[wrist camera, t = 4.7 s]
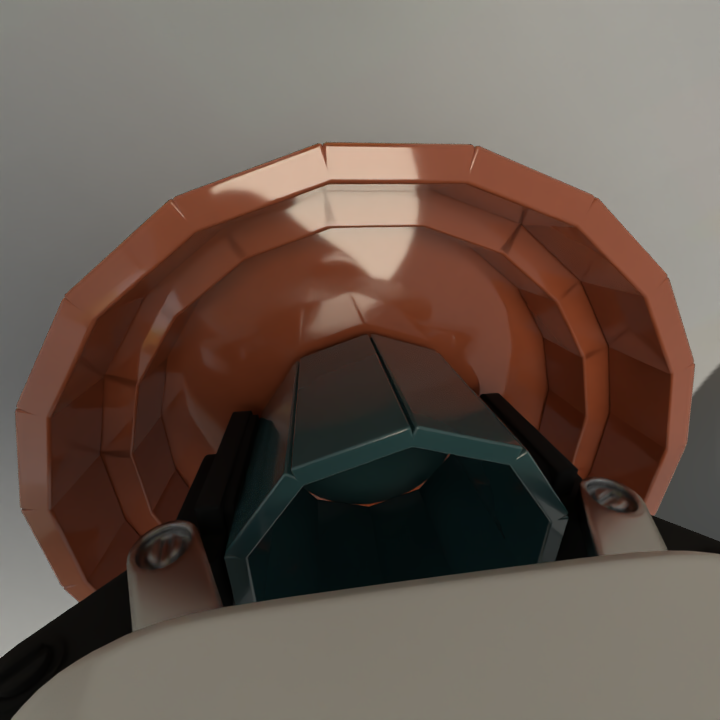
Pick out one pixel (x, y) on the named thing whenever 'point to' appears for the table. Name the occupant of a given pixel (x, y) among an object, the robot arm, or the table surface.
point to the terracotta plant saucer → (343, 328)
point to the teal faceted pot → (383, 479)
